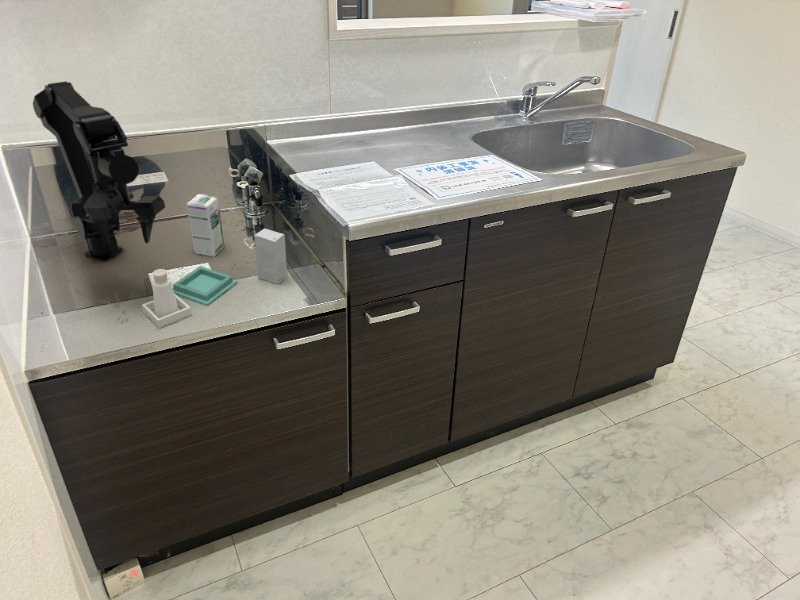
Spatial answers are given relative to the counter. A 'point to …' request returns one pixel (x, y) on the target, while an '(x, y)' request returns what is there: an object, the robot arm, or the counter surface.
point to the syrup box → (205, 224)
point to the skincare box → (271, 255)
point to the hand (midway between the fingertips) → (127, 242)
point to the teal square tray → (203, 285)
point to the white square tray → (169, 318)
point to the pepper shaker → (163, 294)
